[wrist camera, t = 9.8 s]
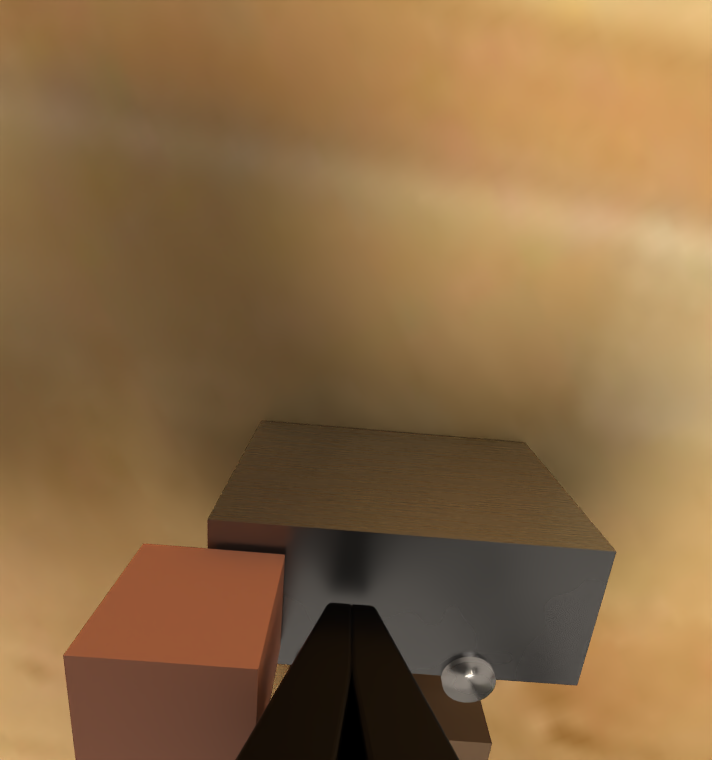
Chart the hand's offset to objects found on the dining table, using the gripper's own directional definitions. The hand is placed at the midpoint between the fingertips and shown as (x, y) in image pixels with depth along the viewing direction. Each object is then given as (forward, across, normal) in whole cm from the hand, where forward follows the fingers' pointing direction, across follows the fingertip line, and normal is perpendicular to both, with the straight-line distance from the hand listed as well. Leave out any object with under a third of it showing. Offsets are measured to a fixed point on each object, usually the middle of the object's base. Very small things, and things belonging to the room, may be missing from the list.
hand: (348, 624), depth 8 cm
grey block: (+5, -1, 0) cm, 5 cm away
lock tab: (+1, +2, 0) cm, 2 cm away
